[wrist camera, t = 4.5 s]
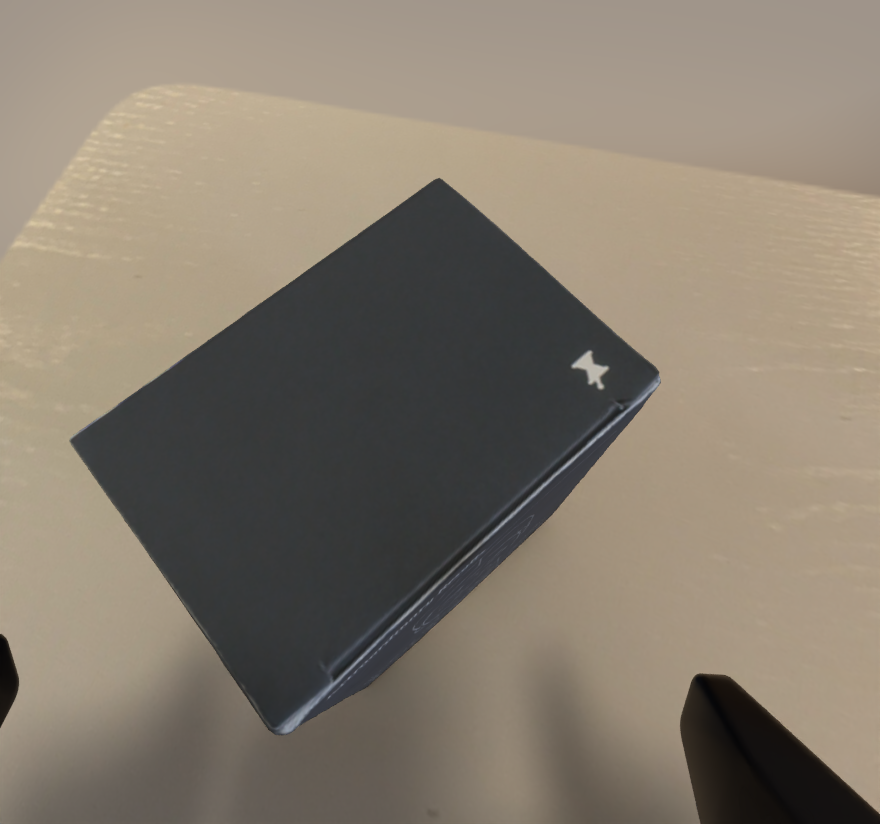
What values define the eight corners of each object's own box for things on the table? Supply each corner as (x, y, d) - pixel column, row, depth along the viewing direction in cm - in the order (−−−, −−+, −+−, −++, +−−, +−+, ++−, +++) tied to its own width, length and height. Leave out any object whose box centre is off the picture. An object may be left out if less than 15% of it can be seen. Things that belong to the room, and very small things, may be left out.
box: (434, 391, 21) (442, 162, 11) (553, 516, 20) (681, 379, 10) (243, 545, 19) (47, 433, 9) (358, 697, 18) (275, 754, 8)
